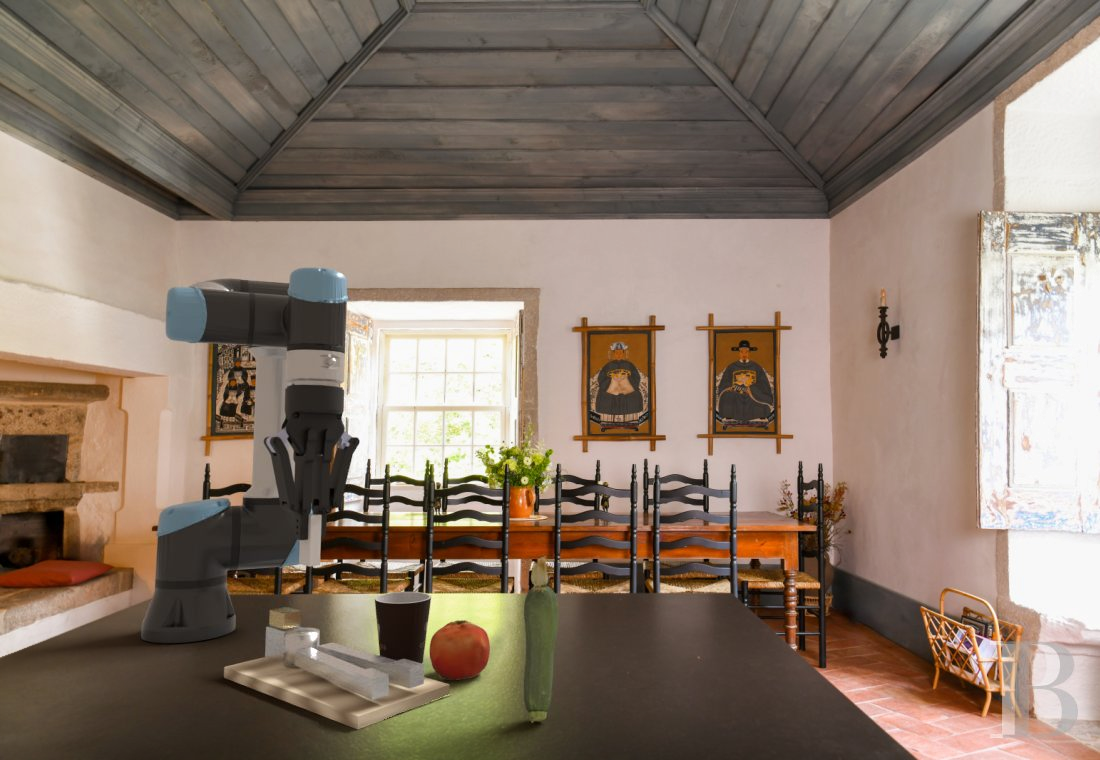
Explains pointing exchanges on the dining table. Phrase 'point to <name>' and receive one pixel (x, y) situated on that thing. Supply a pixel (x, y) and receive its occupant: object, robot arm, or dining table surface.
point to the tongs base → (338, 654)
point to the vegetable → (539, 642)
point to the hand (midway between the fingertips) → (309, 564)
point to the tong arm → (344, 673)
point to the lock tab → (285, 617)
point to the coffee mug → (402, 624)
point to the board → (330, 692)
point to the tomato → (459, 650)
